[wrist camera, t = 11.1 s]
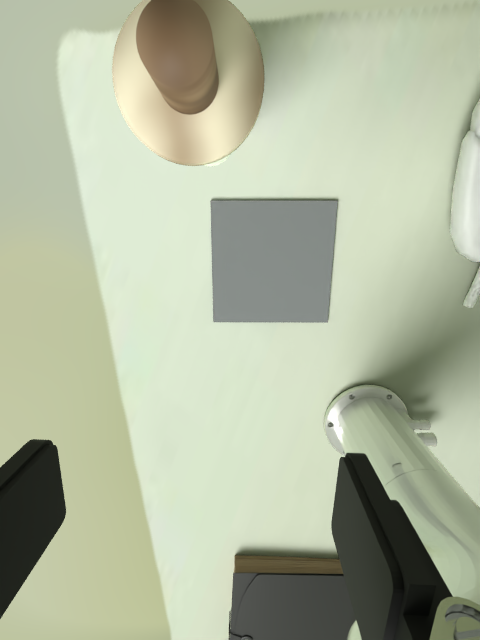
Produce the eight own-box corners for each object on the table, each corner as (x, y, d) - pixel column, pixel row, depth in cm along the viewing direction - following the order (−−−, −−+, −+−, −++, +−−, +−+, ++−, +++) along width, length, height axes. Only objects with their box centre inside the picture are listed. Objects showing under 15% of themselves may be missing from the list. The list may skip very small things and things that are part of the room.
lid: (264, -7, 22) (272, -89, 16) (262, 165, 25) (269, 146, 20) (108, -4, 22) (62, -85, 17) (126, 166, 25) (92, 148, 20)
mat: (336, 200, 40) (337, 200, 40) (326, 321, 44) (327, 322, 44) (210, 200, 40) (210, 200, 40) (213, 321, 45) (213, 322, 44)
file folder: (232, 575, 53) (372, 578, 54) (232, 551, 57) (363, 554, 58) (226, 697, 63) (346, 698, 63) (226, 669, 67) (339, 671, 67)
